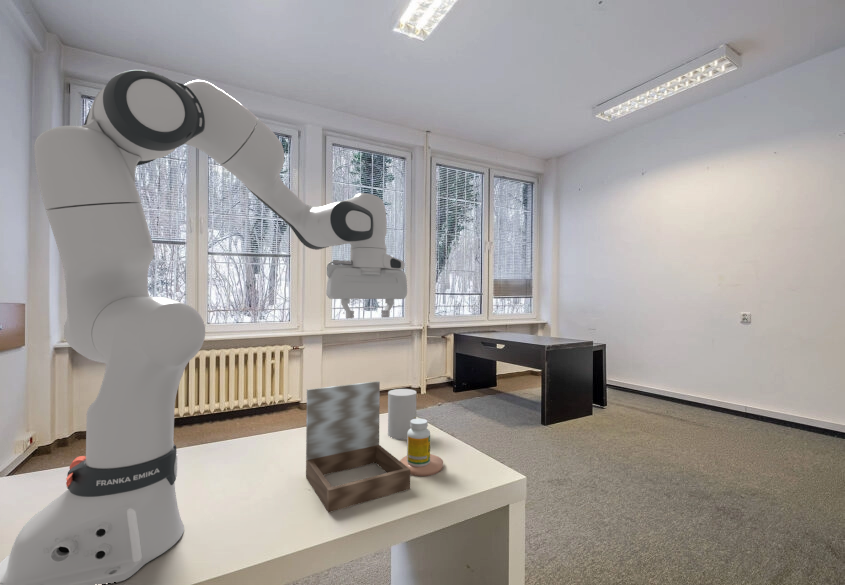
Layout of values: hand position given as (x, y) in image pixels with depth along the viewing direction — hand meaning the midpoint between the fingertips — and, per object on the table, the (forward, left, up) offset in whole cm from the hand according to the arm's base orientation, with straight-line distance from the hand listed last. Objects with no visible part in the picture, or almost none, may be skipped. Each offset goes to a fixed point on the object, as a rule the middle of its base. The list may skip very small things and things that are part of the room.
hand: (368, 317), depth 94 cm
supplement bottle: (+8, -11, -33) cm, 36 cm away
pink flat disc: (+9, -11, -34) cm, 37 cm away
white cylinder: (+15, +10, -34) cm, 39 cm away
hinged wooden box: (-7, -11, -34) cm, 37 cm away
